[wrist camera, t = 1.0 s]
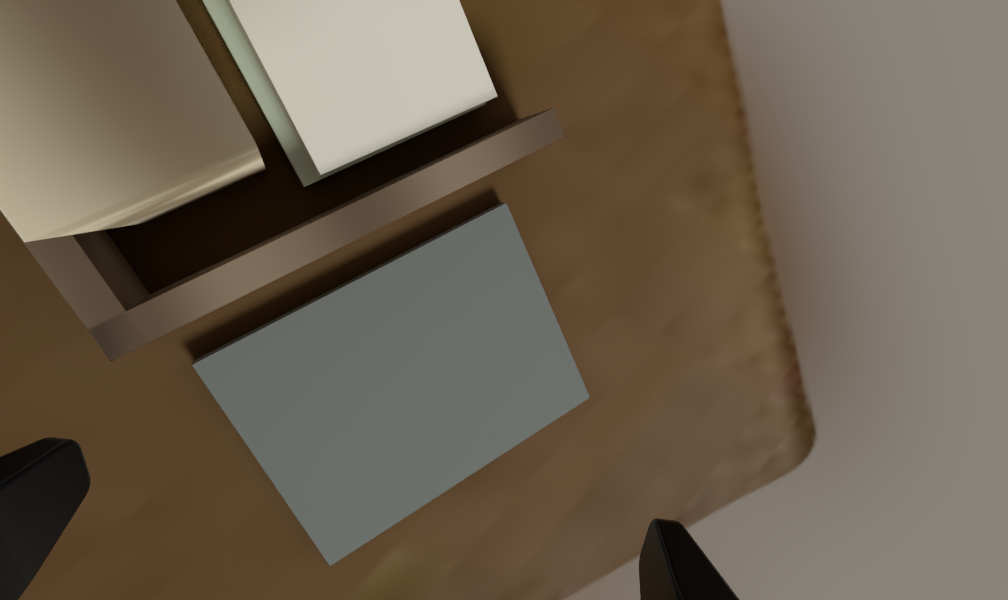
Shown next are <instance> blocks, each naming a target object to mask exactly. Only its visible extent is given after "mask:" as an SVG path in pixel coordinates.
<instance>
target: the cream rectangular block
mask: <svg viewBox="0 0 1008 600" xmlns="http://www.w3.org/2000/svg"><path fill="white" fill-rule="evenodd" d="M264 170H266V168H265V165H264V162H263V160H262V157H261V155H260V152H259V150H258V147H257V145H256V143H255V141H254V139H253V137H252V135H251V134H250V132H249V130H248V128H247V126H246V125H245V123H244V121H243V119H242V118H241V116H240V114H239V112H238V110H237V109H236V107H235V105H234V103H233V102H232V100H231V98H230V96H229V94H228V93H227V91H226V89H225V87H224V85H223V84H222V82H221V80H220V78H219V77H218V75H217V73H216V71H215V69H214V68H213V66H212V64H211V62H210V61H209V59H208V57H207V55H206V53H205V52H204V50H203V48H202V46H201V44H200V43H199V41H198V39H197V37H196V36H195V34H194V32H193V30H192V28H191V27H190V25H189V23H188V21H187V20H186V18H185V16H184V14H183V12H182V11H181V9H180V7H179V5H178V3H177V2H176V0H0V210H1V212H2V213H3V214H4V216H5V217H6V218H7V220H8V221H9V222H10V224H11V225H12V226H13V228H14V229H15V230H16V232H17V233H18V235H19V236H20V237H21V239H22V240H23V241H24V242H30V241H36V240H43V239H49V238H55V237H61V236H68V235H74V234H80V233H86V232H93V231H99V230H105V229H111V228H118V227H124V226H130V225H136V224H143V223H146V222H148V221H150V220H153V219H155V218H157V217H160V216H162V215H164V214H166V213H169V212H171V211H173V210H175V209H178V208H180V207H182V206H185V205H187V204H189V203H191V202H194V201H196V200H198V199H200V198H203V197H205V196H207V195H210V194H212V193H214V192H216V191H219V190H221V189H223V188H225V187H228V186H230V185H232V184H235V183H237V182H239V181H241V180H244V179H246V178H248V177H250V176H253V175H255V174H257V173H259V172H262V171H264Z"/></svg>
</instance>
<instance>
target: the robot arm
mask: <svg viewBox="0 0 1008 600" xmlns="http://www.w3.org/2000/svg"><path fill="white" fill-rule="evenodd" d="M89 487H90V475H89V472H88V469H87V465H86V462H85V459H84V456H83V453H82V450H81V447H80V445H79V444H78V443H77V442H76V441H74V440H69V439H62V438H54V437H49V438H44V439H41V440H39V441H36V442H34V443H32V444H29V445H27V446H25V447H22V448H20V449H18V450H15V451H13V452H11V453H8V454H6V455H4V456H2V457H0V600H18V599H19V598H20V596H21V595H22V594H23V592H24V591H25V590H26V588H27V587H28V585H29V584H30V582H31V581H32V579H33V578H34V576H35V575H36V573H37V572H38V570H39V569H40V567H41V566H42V564H43V562H44V561H45V559H46V558H47V556H48V555H49V553H50V551H51V550H52V548H53V547H54V545H55V543H56V542H57V540H58V539H59V537H60V536H61V534H62V532H63V531H64V529H65V528H66V526H67V525H68V523H69V521H70V520H71V518H72V517H73V515H74V514H75V512H76V510H77V509H78V507H79V506H80V504H81V503H82V501H83V499H84V498H85V496H86V494H87V492H88V490H89ZM639 577H640V593H641V600H739V598H738V597H737V596H736V594H735V593H734V592H733V591H732V589H731V588H730V587H729V585H728V584H727V583H726V581H725V580H724V579H723V577H722V576H721V575H720V573H719V572H718V571H717V569H716V568H715V567H714V566H713V564H712V563H711V562H710V560H709V559H708V558H707V557H706V555H705V554H704V552H703V551H702V550H701V549H700V548H699V546H698V545H697V543H696V542H695V541H694V540H693V538H692V537H691V535H690V534H689V533H688V531H687V530H686V529H685V527H684V526H683V525H682V524H681V523H679V522H678V521H673V520H665V519H658V518H656V519H653V520H652V521H651V523H650V525H649V528H648V531H647V534H646V538H645V541H644V544H643V547H642V550H641V554H640V560H639Z"/></svg>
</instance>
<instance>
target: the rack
mask: <svg viewBox="0 0 1008 600" xmlns="http://www.w3.org/2000/svg"><path fill="white" fill-rule="evenodd" d="M563 137H565V135H564V132H563V130H562V127H561V124H560V122H559V119H558V117H557V114H556V111H555V109H554V108H552V109H549V110H546V111H543V112H540V113H537V114H534V115H531V116H528V117H525V118H522V119H519V120H517V121H515V122H513V123H511V124H509V125H507V126H504V127H502V128H500V129H498V130H496V131H494V132H492V133H490V134H488V135H485V136H483V137H481V138H479V139H477V140H475V141H473V142H471V143H469V144H466V145H464V146H462V147H460V148H458V149H456V150H454V151H452V152H450V153H447V154H445V155H443V156H441V157H439V158H437V159H435V160H433V161H431V162H428V163H426V164H424V165H422V166H420V167H418V168H416V169H414V170H412V171H409V172H407V173H405V174H403V175H401V176H399V177H397V178H395V179H393V180H390V181H388V182H386V183H384V184H382V185H380V186H378V187H376V188H374V189H371V190H369V191H367V192H365V193H363V194H361V195H359V196H357V197H355V198H352V199H350V200H348V201H346V202H344V203H342V204H340V205H338V206H336V207H333V208H331V209H329V210H327V211H325V212H323V213H321V214H319V215H317V216H314V217H312V218H310V219H308V220H306V221H304V222H302V223H300V224H298V225H295V226H293V227H291V228H289V229H287V230H285V231H283V232H281V233H279V234H276V235H274V236H272V237H270V238H268V239H266V240H264V241H262V242H260V243H257V244H255V245H253V246H251V247H249V248H247V249H245V250H243V251H241V252H238V253H236V254H234V255H232V256H230V257H228V258H226V259H224V260H222V261H219V262H217V263H215V264H213V265H211V266H209V267H207V268H205V269H203V270H200V271H198V272H196V273H194V274H192V275H190V276H188V277H186V278H184V279H181V280H179V281H177V282H175V283H173V284H171V285H169V286H167V287H165V288H162V289H160V290H158V291H156V292H154V293H152V294H149V293H148V291H147V290H146V288H145V287H144V285H143V284H142V282H141V281H140V279H139V278H138V277H137V275H136V274H135V272H134V271H133V269H132V268H131V266H130V265H129V263H128V262H127V260H126V259H125V258H124V256H123V255H122V253H121V252H120V250H119V249H118V247H117V246H116V244H115V243H114V241H113V240H112V238H111V237H110V236H109V234H108V233H107V231H106V230H99V231H93V232H86V233H80V234H74V235H68V236H61V237H55V238H49V239H43V240H36V241H30V242H24V241H23V240H22V239H21V237H20V236H19V235H18V233H17V232H16V230H15V229H14V228H13V226H12V225H11V224H10V222H9V221H8V220H7V218H6V217H5V216H4V214H3V213H2V212H1V210H0V212H1V213H2V215H3V216H4V217H5V219H6V220H7V221H8V223H9V224H10V225H11V227H12V228H13V229H14V231H15V232H16V233H17V235H18V236H19V238H20V239H21V240H22V242H23V243H24V244H25V246H26V247H27V248H28V250H29V251H30V252H31V254H32V255H33V256H34V258H35V259H36V261H37V262H38V263H39V265H40V266H41V267H42V269H43V270H44V271H45V273H46V274H47V275H48V277H49V278H50V279H51V281H52V282H53V284H54V285H55V286H56V288H57V289H58V290H59V292H60V293H61V294H62V296H63V297H64V298H65V300H66V301H67V302H68V304H69V305H70V307H71V308H72V309H73V311H74V312H75V313H76V315H77V316H78V317H79V319H80V320H81V321H82V323H83V324H84V326H85V327H86V328H87V330H88V331H89V332H90V334H91V335H92V336H93V338H94V339H95V340H96V342H97V343H98V344H99V346H100V347H101V349H102V350H103V351H104V353H105V354H106V355H107V357H108V358H109V359H110V361H112V360H115V359H117V358H119V357H121V356H123V355H125V354H127V353H129V352H131V351H133V350H135V349H137V348H139V347H141V346H143V345H145V344H147V343H149V342H151V341H153V340H155V339H157V338H159V337H161V336H163V335H165V334H167V333H169V332H171V331H173V330H175V329H177V328H179V327H181V326H183V325H185V324H187V323H189V322H191V321H193V320H195V319H197V318H199V317H201V316H203V315H205V314H207V313H209V312H211V311H213V310H216V309H218V308H220V307H222V306H224V305H226V304H228V303H230V302H232V301H234V300H236V299H238V298H240V297H242V296H244V295H246V294H248V293H250V292H252V291H254V290H256V289H258V288H260V287H262V286H264V285H266V284H268V283H270V282H272V281H274V280H276V279H278V278H280V277H282V276H284V275H286V274H288V273H290V272H292V271H294V270H296V269H298V268H300V267H302V266H304V265H306V264H308V263H310V262H312V261H314V260H317V259H319V258H321V257H323V256H325V255H327V254H329V253H331V252H333V251H335V250H337V249H339V248H341V247H343V246H345V245H347V244H349V243H351V242H353V241H355V240H357V239H359V238H361V237H363V236H365V235H367V234H369V233H371V232H373V231H375V230H377V229H379V228H381V227H383V226H385V225H387V224H389V223H391V222H393V221H395V220H397V219H399V218H401V217H403V216H405V215H407V214H409V213H411V212H413V211H415V210H418V209H420V208H422V207H424V206H426V205H428V204H430V203H432V202H434V201H436V200H438V199H440V198H442V197H444V196H446V195H448V194H450V193H452V192H454V191H456V190H458V189H460V188H462V187H464V186H466V185H468V184H470V183H472V182H474V181H476V180H478V179H480V178H482V177H484V176H486V175H488V174H490V173H492V172H494V171H496V170H498V169H500V168H502V167H504V166H506V165H508V164H510V163H512V162H514V161H516V160H519V159H521V158H523V157H525V156H527V155H529V154H531V153H533V152H535V151H537V150H539V149H541V148H543V147H545V146H547V145H549V144H551V143H553V142H555V141H557V140H559V139H561V138H563Z"/></svg>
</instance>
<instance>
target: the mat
mask: <svg viewBox="0 0 1008 600" xmlns="http://www.w3.org/2000/svg"><path fill="white" fill-rule="evenodd" d="M192 366H193V367H194V369H195V370H196V372H197V373H198V374H199V376H200V377H201V379H202V380H203V382H204V383H205V385H206V386H207V388H208V389H209V391H210V392H211V393H212V395H213V396H214V398H215V399H216V401H217V402H218V404H219V405H220V407H221V408H222V409H223V411H224V412H225V414H226V415H227V417H228V418H229V420H230V421H231V423H232V424H233V425H234V427H235V428H236V430H237V431H238V433H239V434H240V436H241V437H242V439H243V440H244V442H245V443H246V444H247V446H248V447H249V449H250V450H251V452H252V453H253V455H254V456H255V458H256V459H257V460H258V462H259V463H260V465H261V466H262V468H263V469H264V471H265V472H266V474H267V475H268V476H269V478H270V479H271V481H272V482H273V484H274V485H275V487H276V488H277V490H278V491H279V492H280V494H281V495H282V497H283V498H284V500H285V501H286V503H287V504H288V506H289V507H290V509H291V510H292V511H293V513H294V514H295V516H296V517H297V519H298V520H299V522H300V523H301V525H302V526H303V527H304V529H305V530H306V532H307V533H308V535H309V536H310V538H311V539H312V541H313V542H314V543H315V545H316V546H317V548H318V549H319V551H320V552H321V554H322V555H323V557H324V558H325V559H326V561H327V562H328V564H329V565H330V566H331V565H333V564H334V563H336V562H337V561H339V560H340V559H342V558H343V557H345V556H346V555H348V554H349V553H351V552H353V551H354V550H356V549H357V548H359V547H360V546H362V545H363V544H365V543H366V542H368V541H370V540H371V539H373V538H374V537H376V536H377V535H379V534H380V533H382V532H383V531H385V530H386V529H388V528H390V527H391V526H393V525H394V524H396V523H397V522H399V521H400V520H402V519H403V518H405V517H406V516H408V515H410V514H411V513H413V512H414V511H416V510H417V509H419V508H420V507H422V506H423V505H425V504H427V503H428V502H430V501H431V500H433V499H434V498H436V497H437V496H439V495H440V494H442V493H443V492H445V491H447V490H448V489H450V488H451V487H453V486H454V485H456V484H457V483H459V482H460V481H462V480H464V479H465V478H467V477H468V476H470V475H471V474H473V473H474V472H476V471H477V470H479V469H480V468H482V467H484V466H485V465H487V464H488V463H490V462H491V461H493V460H494V459H496V458H497V457H499V456H500V455H502V454H504V453H505V452H507V451H508V450H510V449H511V448H513V447H514V446H516V445H517V444H519V443H521V442H522V441H524V440H525V439H527V438H528V437H530V436H531V435H533V434H534V433H536V432H537V431H539V430H541V429H542V428H544V427H545V426H547V425H548V424H550V423H551V422H553V421H554V420H556V419H557V418H559V417H561V416H562V415H564V414H565V413H567V412H568V411H570V410H571V409H573V408H574V407H576V406H578V405H579V404H581V403H582V402H584V401H585V400H587V399H588V398H590V396H589V394H588V392H587V389H586V387H585V385H584V382H583V380H582V378H581V375H580V373H579V371H578V368H577V366H576V364H575V361H574V359H573V357H572V354H571V352H570V350H569V347H568V345H567V343H566V341H565V338H564V336H563V334H562V331H561V329H560V327H559V324H558V322H557V320H556V317H555V315H554V313H553V310H552V308H551V306H550V303H549V301H548V299H547V296H546V294H545V292H544V289H543V287H542V285H541V282H540V280H539V278H538V275H537V273H536V271H535V268H534V266H533V264H532V262H531V259H530V257H529V255H528V252H527V250H526V248H525V245H524V243H523V241H522V238H521V236H520V234H519V231H518V229H517V227H516V224H515V222H514V220H513V217H512V215H511V213H510V210H509V208H508V206H507V203H499V204H497V205H495V206H494V207H492V208H490V209H488V210H486V211H484V212H482V213H480V214H478V215H476V216H474V217H472V218H470V219H468V220H466V221H464V222H462V223H460V224H458V225H457V226H455V227H453V228H451V229H449V230H447V231H445V232H443V233H441V234H439V235H437V236H435V237H433V238H431V239H429V240H427V241H425V242H423V243H421V244H420V245H418V246H416V247H414V248H412V249H410V250H408V251H406V252H404V253H402V254H400V255H398V256H396V257H394V258H392V259H390V260H388V261H386V262H385V263H383V264H381V265H379V266H377V267H375V268H373V269H371V270H369V271H367V272H365V273H363V274H361V275H359V276H357V277H355V278H353V279H351V280H349V281H348V282H346V283H344V284H342V285H340V286H338V287H336V288H334V289H332V290H330V291H328V292H326V293H324V294H322V295H320V296H318V297H316V298H314V299H312V300H311V301H309V302H307V303H305V304H303V305H301V306H299V307H297V308H295V309H293V310H291V311H289V312H287V313H285V314H283V315H281V316H279V317H277V318H275V319H274V320H272V321H270V322H268V323H266V324H264V325H262V326H260V327H258V328H256V329H254V330H252V331H250V332H248V333H246V334H244V335H242V336H240V337H238V338H237V339H235V340H233V341H231V342H229V343H227V344H225V345H223V346H221V347H219V348H217V349H215V350H213V351H211V352H209V353H207V354H205V355H203V356H201V357H200V358H198V359H196V360H194V362H193V364H192Z"/></svg>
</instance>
